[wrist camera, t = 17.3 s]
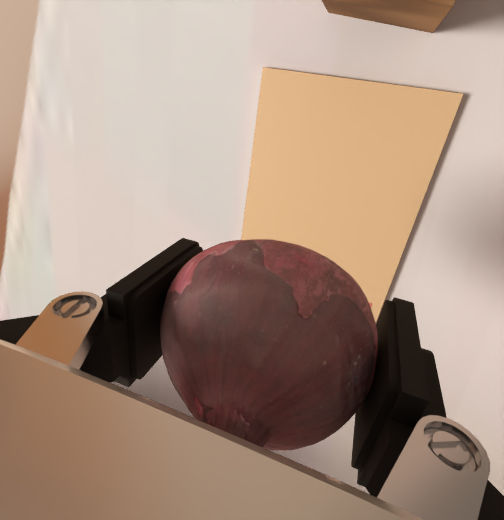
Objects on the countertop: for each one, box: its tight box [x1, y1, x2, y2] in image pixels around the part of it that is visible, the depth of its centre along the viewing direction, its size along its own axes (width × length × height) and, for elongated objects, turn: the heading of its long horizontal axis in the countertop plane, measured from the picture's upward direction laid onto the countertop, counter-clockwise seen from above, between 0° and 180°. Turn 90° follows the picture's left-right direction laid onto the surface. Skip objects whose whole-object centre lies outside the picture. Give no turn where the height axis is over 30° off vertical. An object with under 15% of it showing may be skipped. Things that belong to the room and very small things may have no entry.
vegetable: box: [160, 239, 378, 450], centre depth 9 cm, size 6×6×10 cm
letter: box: [241, 67, 463, 323], centre depth 20 cm, size 10×15×1 cm, turn 173°
